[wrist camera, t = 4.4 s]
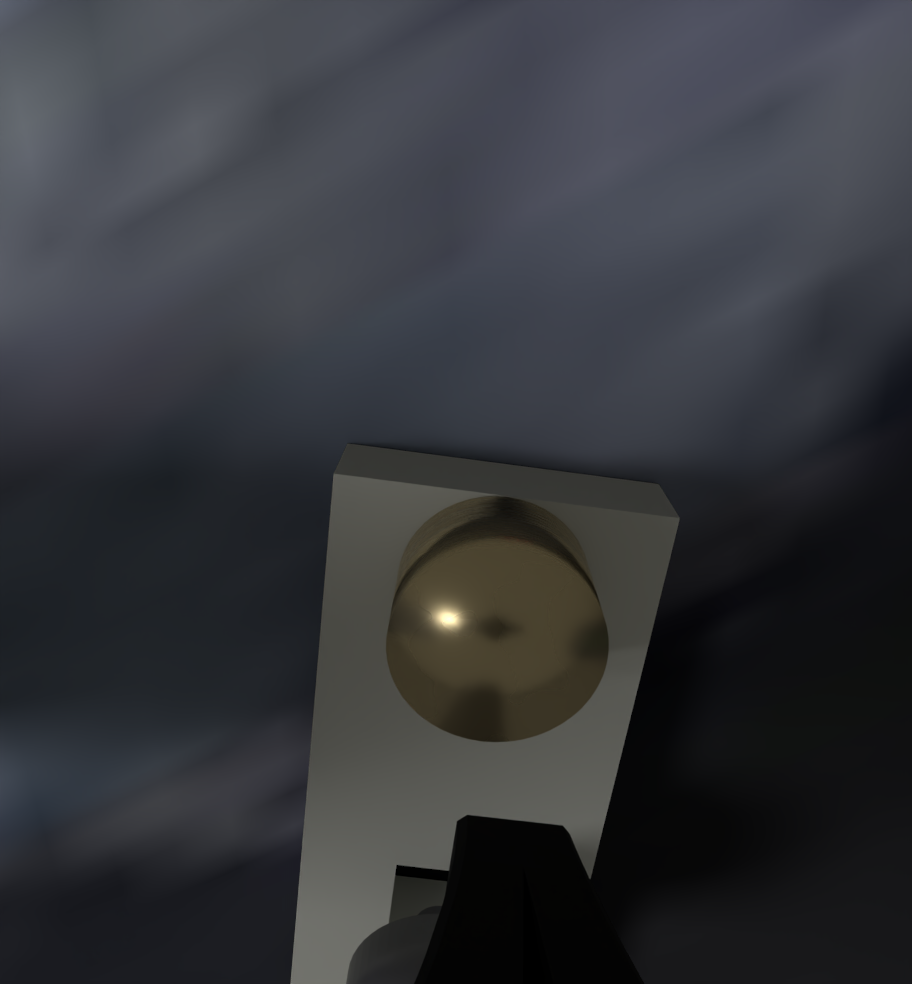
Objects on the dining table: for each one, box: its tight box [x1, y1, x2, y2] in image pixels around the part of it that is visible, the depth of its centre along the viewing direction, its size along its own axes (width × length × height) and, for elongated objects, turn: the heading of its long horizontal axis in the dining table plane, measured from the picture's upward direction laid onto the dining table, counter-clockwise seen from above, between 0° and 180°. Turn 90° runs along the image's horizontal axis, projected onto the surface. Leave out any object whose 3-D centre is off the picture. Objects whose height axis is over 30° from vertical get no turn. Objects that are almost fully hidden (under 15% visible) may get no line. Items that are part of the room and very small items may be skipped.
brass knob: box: [386, 496, 609, 742], centre depth 17 cm, size 4×4×4 cm
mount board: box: [291, 443, 680, 984], centre depth 21 cm, size 22×7×2 cm, turn 172°
